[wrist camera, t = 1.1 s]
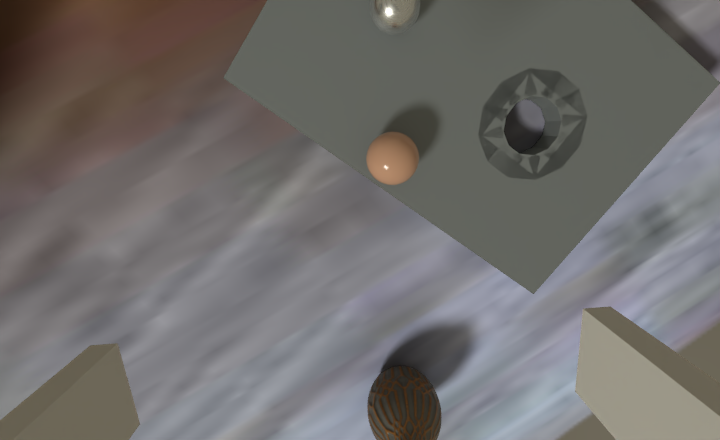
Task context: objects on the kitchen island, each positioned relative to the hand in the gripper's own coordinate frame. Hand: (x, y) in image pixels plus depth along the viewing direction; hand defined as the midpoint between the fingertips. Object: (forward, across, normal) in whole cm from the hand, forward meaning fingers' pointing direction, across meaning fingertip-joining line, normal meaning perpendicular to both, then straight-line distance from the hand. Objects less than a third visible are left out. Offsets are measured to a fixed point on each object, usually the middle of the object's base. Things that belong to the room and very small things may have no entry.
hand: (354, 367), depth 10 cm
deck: (+23, +10, +9) cm, 27 cm away
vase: (+23, +3, -20) cm, 31 cm away
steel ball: (+19, +4, +14) cm, 24 cm away
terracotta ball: (+18, +3, +4) cm, 19 cm away
